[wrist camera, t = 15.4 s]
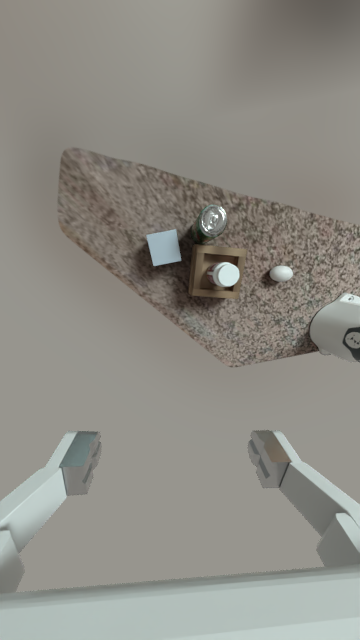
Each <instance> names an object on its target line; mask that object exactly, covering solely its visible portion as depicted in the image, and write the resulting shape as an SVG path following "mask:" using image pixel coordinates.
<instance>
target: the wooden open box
mask: <svg viewBox="0 0 360 640" xmlns="http://www.w3.org/2000/svg"><path fill="white" fill-rule="evenodd" d="M246 254H247V249H239V248H229V247H219V246H208V245H196V244H195V245H194V246H192V257H191V267H190V278H189V288H188V293H189V294H190V295H192V296H204V297H218V298H232V299H238V297H239V292H240V286H241V281H242V276H243V270H244V265H245V260H246ZM221 262H228V263H231V264H232V265H235V266H236V267H237V268H238V270H239V279H238V281H237V282H236V283H235V284H234V285H232V286H227V287H221V286H218V285H215V284H213V283H211V282H210V281H209V280H208V278H207V270H208V268H209V267H210V266H211V265H212V264H214V263H221Z"/></svg>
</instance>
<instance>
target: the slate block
mask: <svg viewBox="0 0 360 640" xmlns="http://www.w3.org/2000/svg"><path fill="white" fill-rule="evenodd" d="M147 240H148V244H149V248H150V253H151V257H152V262H153V266H158V265H163V264H168V263H173V262H178V261H181V255H180V250H179V244H178V238H177V233H176V229H175V230H170V231H165V232H160V233H155V234H150V235H147Z"/></svg>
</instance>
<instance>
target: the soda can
mask: <svg viewBox="0 0 360 640" xmlns="http://www.w3.org/2000/svg"><path fill="white" fill-rule="evenodd" d="M226 224H227V216H226V213H225V211H224V210H223V208H221V207H220V206H217V205H209V206H207V207H205V208H204V209H203V210H202V211H201V213H200V215H199V216H198V218H197V219H196V221H195V222H194V224H193V226H192V228H191V237H192V239H193V240H194V241H195V242H196V243H198V244H205V243H207V242H208V241H210V240H212V239H214V238H216V237H217V236H219V235H220V234H222V232H223V231H224V230H225V228H226Z"/></svg>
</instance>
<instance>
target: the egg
mask: <svg viewBox="0 0 360 640" xmlns="http://www.w3.org/2000/svg"><path fill="white" fill-rule="evenodd" d="M292 275H293V272H292V270H291V269H290V268H289V267H286V266H276V267H274V268H273V269H272V270H271V271H270V277H271V278H272V279H273V280H275V281H278V282H283V281H287V280H289V279H290V278H291V277H292Z"/></svg>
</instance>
